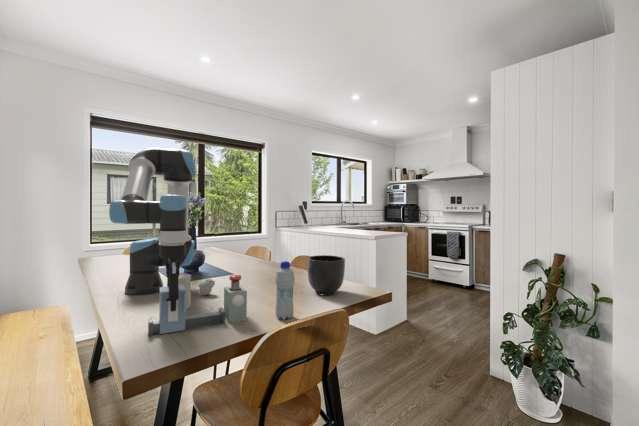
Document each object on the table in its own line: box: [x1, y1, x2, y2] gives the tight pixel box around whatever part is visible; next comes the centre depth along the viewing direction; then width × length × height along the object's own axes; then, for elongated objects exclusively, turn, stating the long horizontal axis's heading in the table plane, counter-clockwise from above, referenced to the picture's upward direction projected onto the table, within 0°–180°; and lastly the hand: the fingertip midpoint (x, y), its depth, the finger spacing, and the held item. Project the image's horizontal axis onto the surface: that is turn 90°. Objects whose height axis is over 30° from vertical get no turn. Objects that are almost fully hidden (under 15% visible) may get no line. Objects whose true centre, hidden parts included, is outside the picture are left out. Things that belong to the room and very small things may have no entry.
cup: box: [178, 273, 192, 310], centre depth 118 cm, size 8×8×12 cm
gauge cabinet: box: [223, 285, 248, 323], centre depth 108 cm, size 8×6×10 cm
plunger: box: [229, 274, 242, 291], centre depth 108 cm, size 4×4×8 cm
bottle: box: [275, 260, 295, 321], centre depth 109 cm, size 7×7×20 cm
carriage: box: [158, 285, 187, 335], centre depth 97 cm, size 8×7×13 cm
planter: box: [307, 254, 346, 296], centre depth 141 cm, size 17×17×16 cm
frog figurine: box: [198, 278, 216, 296], centre depth 135 cm, size 6×7×7 cm
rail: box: [147, 306, 226, 337], centre depth 99 cm, size 5×22×4 cm, turn 119°
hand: (172, 317), depth 97 cm, fingers closed on carriage, 6 cm apart
